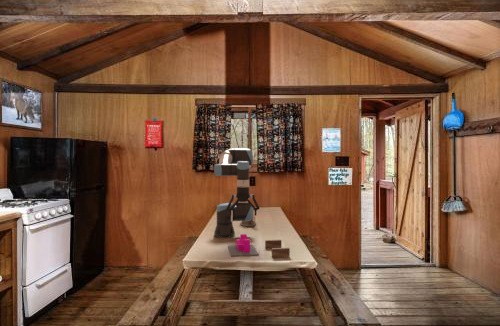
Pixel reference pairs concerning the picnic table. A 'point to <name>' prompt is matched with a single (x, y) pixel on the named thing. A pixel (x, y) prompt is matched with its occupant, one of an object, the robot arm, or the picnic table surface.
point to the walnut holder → (277, 249)
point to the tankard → (248, 222)
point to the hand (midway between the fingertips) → (242, 221)
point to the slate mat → (236, 252)
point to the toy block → (243, 243)
